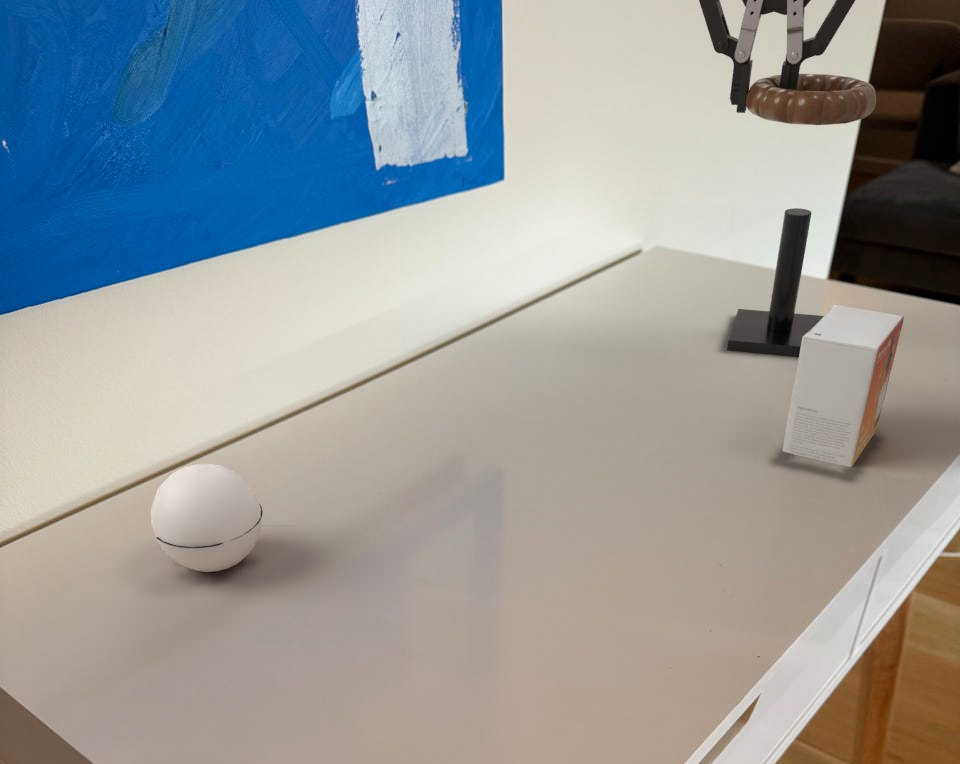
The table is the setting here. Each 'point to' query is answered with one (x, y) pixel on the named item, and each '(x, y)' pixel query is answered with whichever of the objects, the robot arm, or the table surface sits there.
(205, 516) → the seamed sphere
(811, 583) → the table surface
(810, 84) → the brown ribbed ring
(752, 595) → the table surface
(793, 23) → the robot arm
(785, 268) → the stand
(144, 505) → the table surface
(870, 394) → the small box
